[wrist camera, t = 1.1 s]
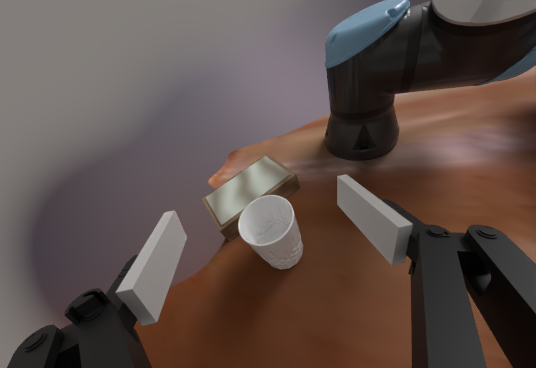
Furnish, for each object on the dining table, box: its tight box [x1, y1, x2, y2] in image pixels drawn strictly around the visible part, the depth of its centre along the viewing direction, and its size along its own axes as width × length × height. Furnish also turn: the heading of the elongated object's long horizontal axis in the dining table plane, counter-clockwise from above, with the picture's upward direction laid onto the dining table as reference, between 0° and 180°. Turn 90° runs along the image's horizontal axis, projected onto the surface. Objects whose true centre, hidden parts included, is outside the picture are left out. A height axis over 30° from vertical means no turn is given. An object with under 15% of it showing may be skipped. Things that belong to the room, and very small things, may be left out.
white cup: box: [238, 195, 303, 270], centre depth 29 cm, size 8×8×10 cm
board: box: [203, 154, 300, 241], centre depth 41 cm, size 18×11×4 cm, turn 124°
